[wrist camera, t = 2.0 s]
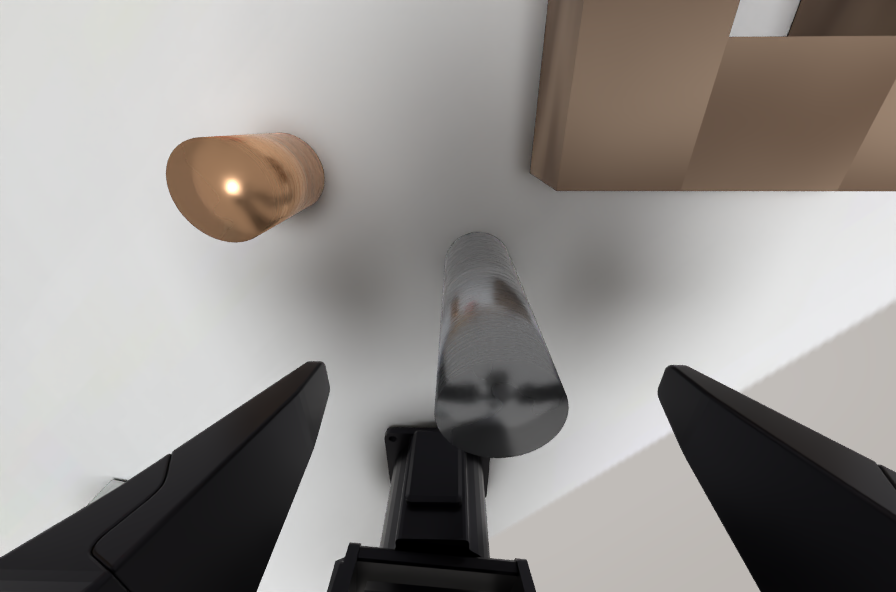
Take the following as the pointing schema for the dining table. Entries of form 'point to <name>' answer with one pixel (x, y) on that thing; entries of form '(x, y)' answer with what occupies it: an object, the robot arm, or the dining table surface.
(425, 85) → the dining table surface
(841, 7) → the hole block
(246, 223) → the short pin
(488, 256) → the long pin
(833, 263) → the dining table surface
